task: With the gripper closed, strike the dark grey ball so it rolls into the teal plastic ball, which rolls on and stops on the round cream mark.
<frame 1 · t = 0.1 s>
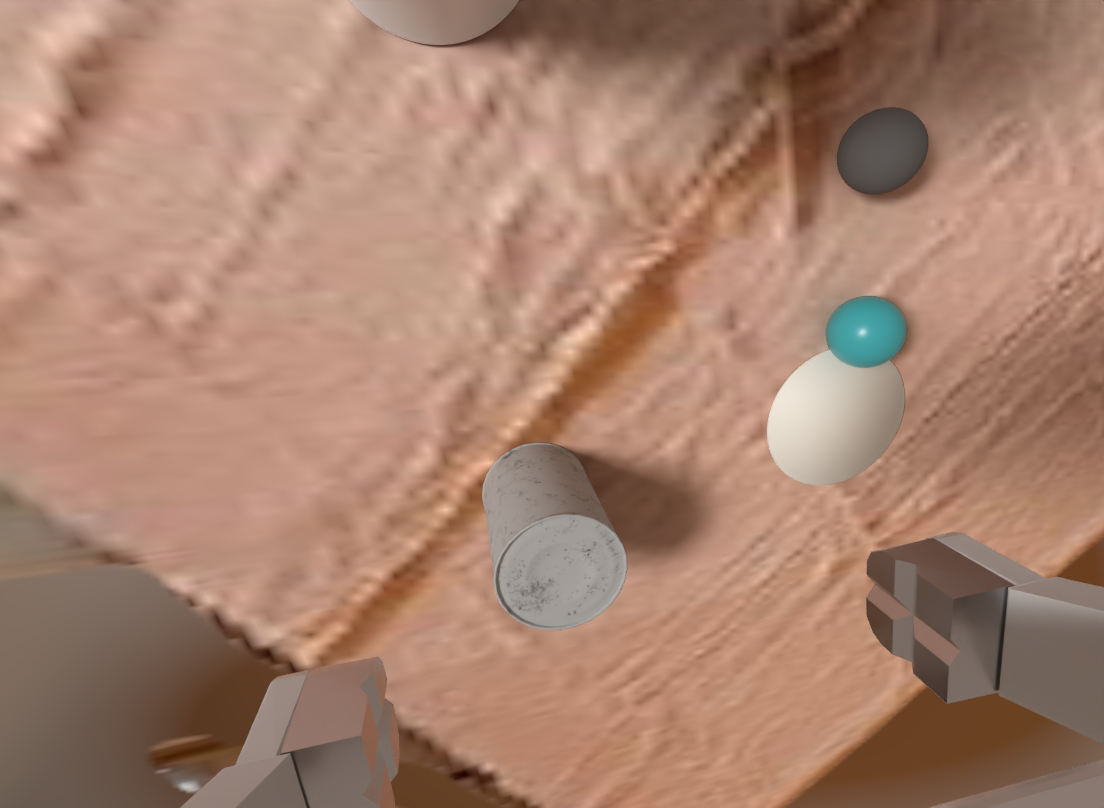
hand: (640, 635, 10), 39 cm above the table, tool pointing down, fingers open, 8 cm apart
grey speckled stone cylinder: (535, 490, 53), on the table
dark grey ball: (881, 151, 44), on the table
object ball: (865, 332, 49), on the table
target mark: (835, 417, 55), on the table
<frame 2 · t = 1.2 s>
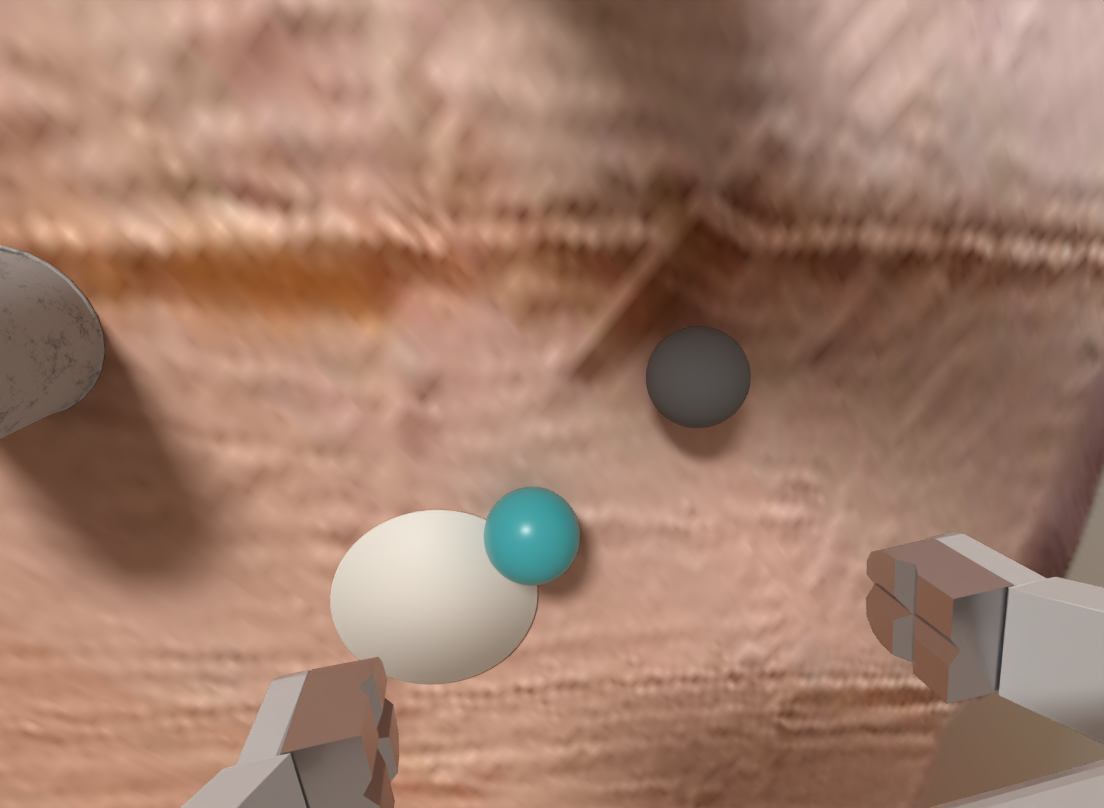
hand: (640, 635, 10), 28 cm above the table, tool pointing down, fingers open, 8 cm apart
grey speckled stone cylinder: (10, 333, 32), on the table
dark grey ball: (697, 377, 35), on the table
object ball: (532, 535, 37), on the table
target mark: (436, 600, 41), on the table
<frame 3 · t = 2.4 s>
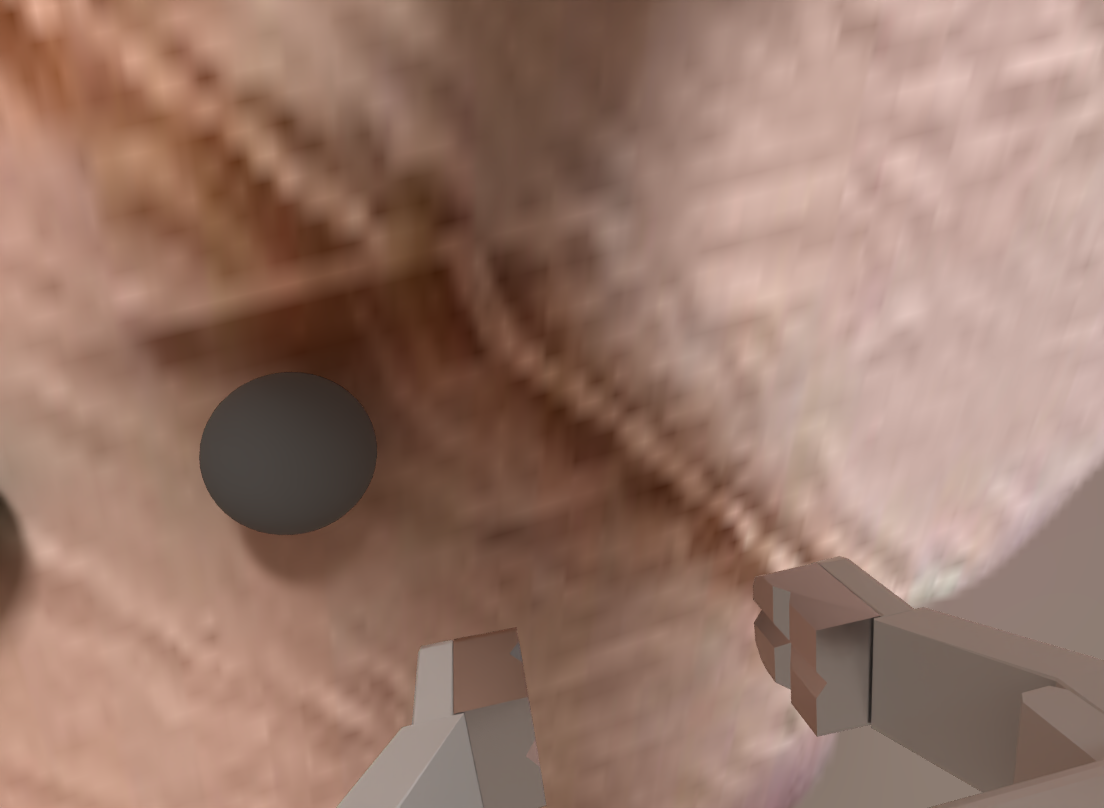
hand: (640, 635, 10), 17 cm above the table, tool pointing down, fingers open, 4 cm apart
dark grey ball: (293, 452, 22), on the table
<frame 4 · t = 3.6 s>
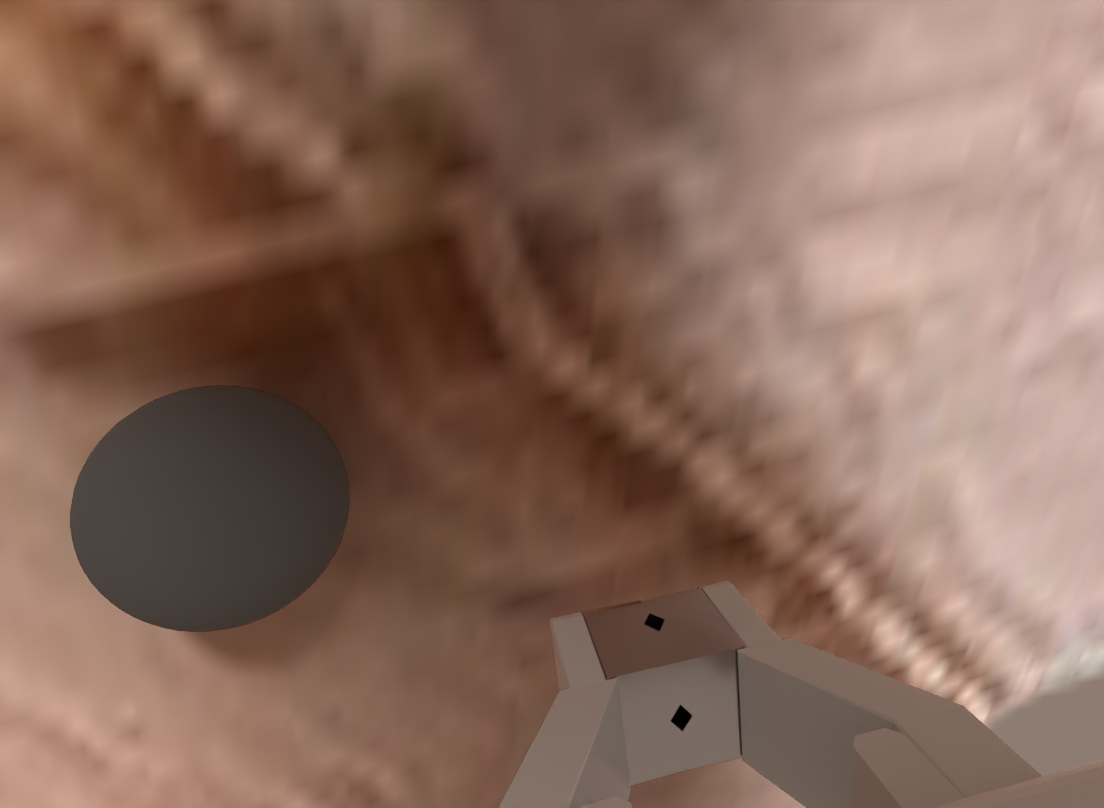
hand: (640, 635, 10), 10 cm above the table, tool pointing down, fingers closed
dark grey ball: (223, 504, 15), on the table
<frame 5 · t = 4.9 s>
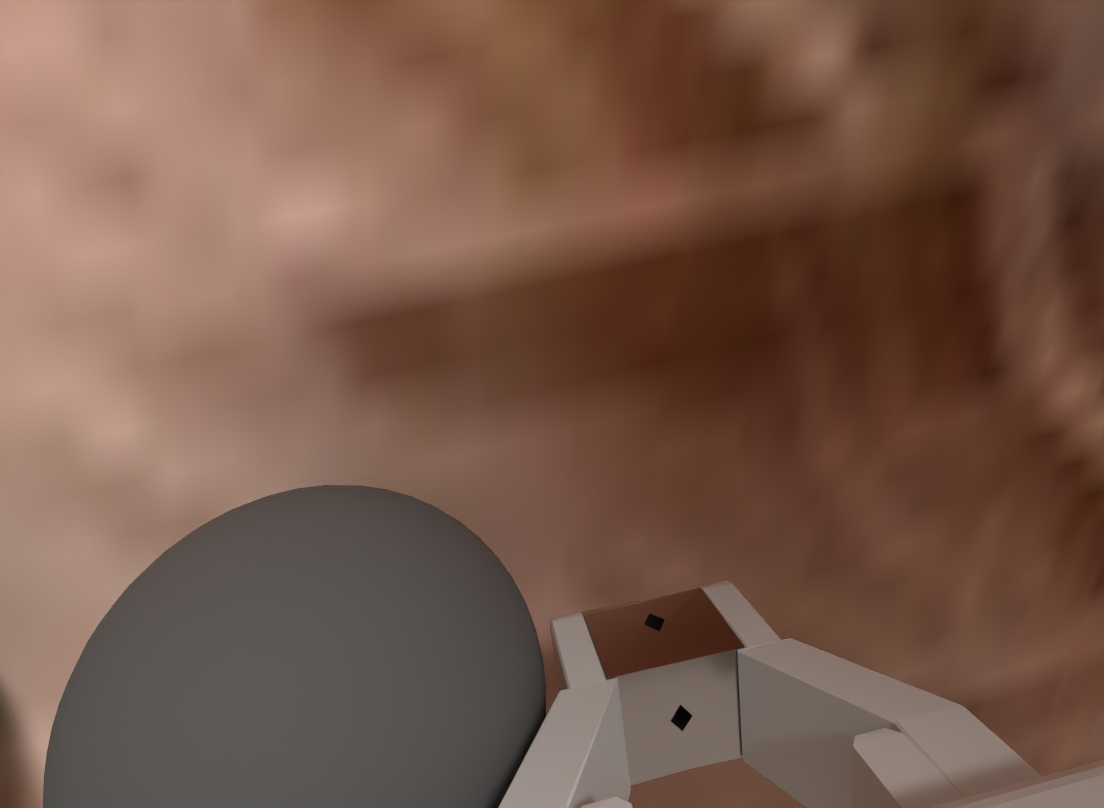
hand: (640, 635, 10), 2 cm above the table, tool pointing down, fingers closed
dark grey ball: (329, 703, 8), on the table
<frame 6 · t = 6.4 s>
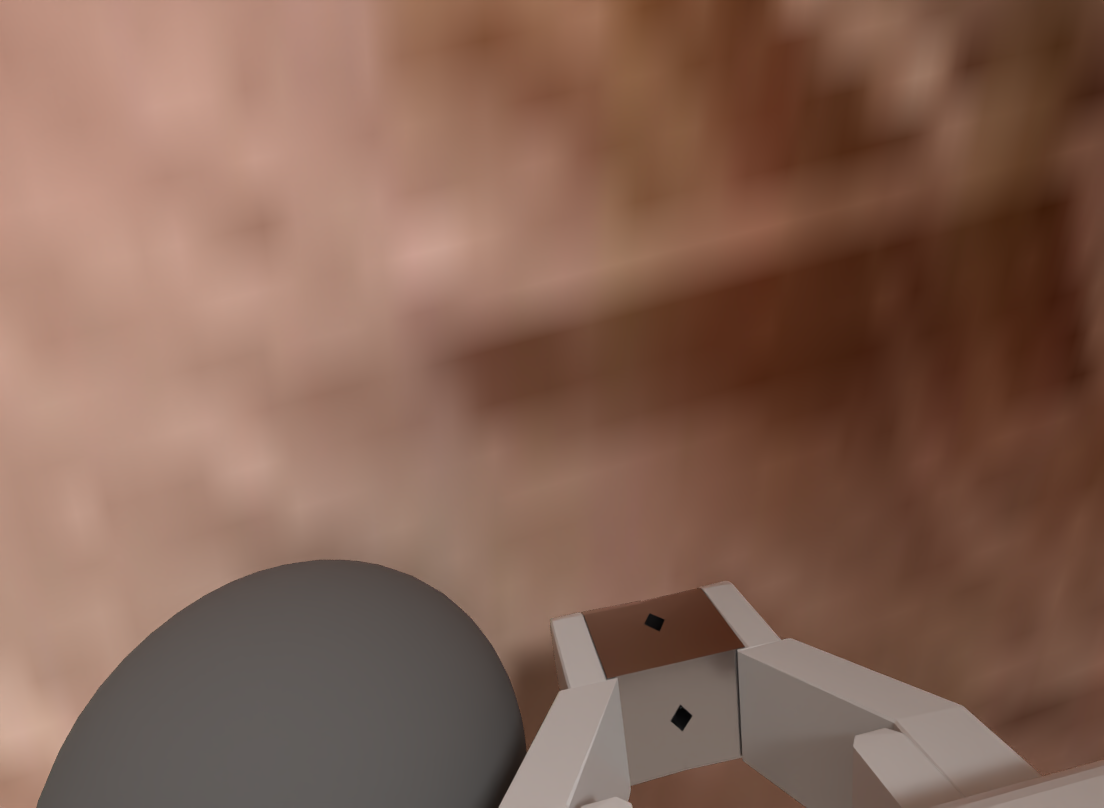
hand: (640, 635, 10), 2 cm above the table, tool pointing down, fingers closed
dark grey ball: (311, 782, 8), on the table
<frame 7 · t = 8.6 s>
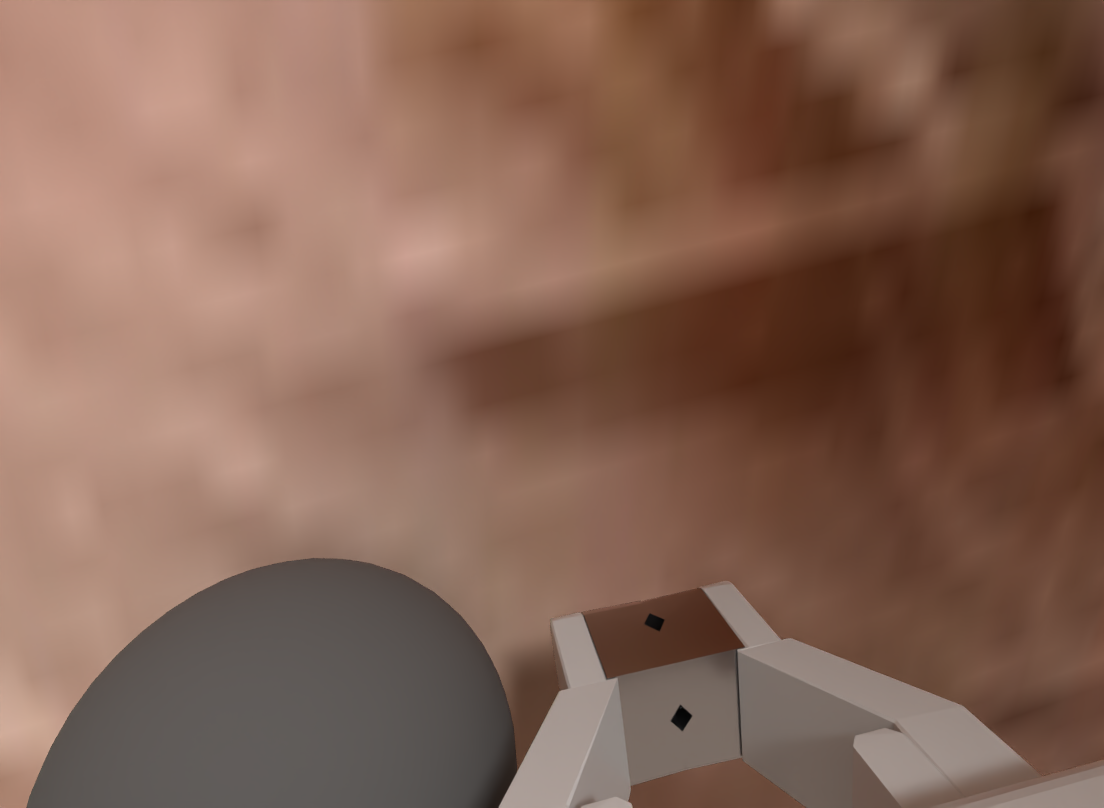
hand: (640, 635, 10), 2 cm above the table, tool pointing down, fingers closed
dark grey ball: (302, 779, 8), on the table
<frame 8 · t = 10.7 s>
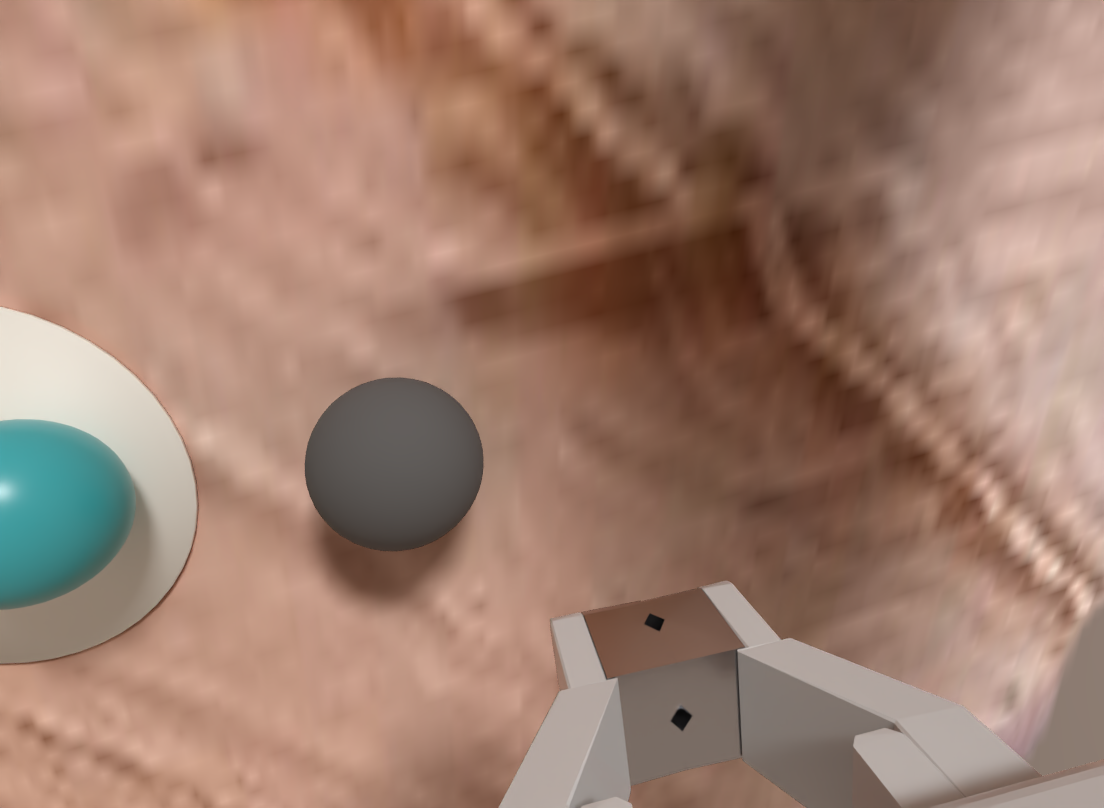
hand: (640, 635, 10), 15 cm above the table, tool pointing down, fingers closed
dark grey ball: (397, 463, 21), on the table
object ball: (22, 511, 19), on the table
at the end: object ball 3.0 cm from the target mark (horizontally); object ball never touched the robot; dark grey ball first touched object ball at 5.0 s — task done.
